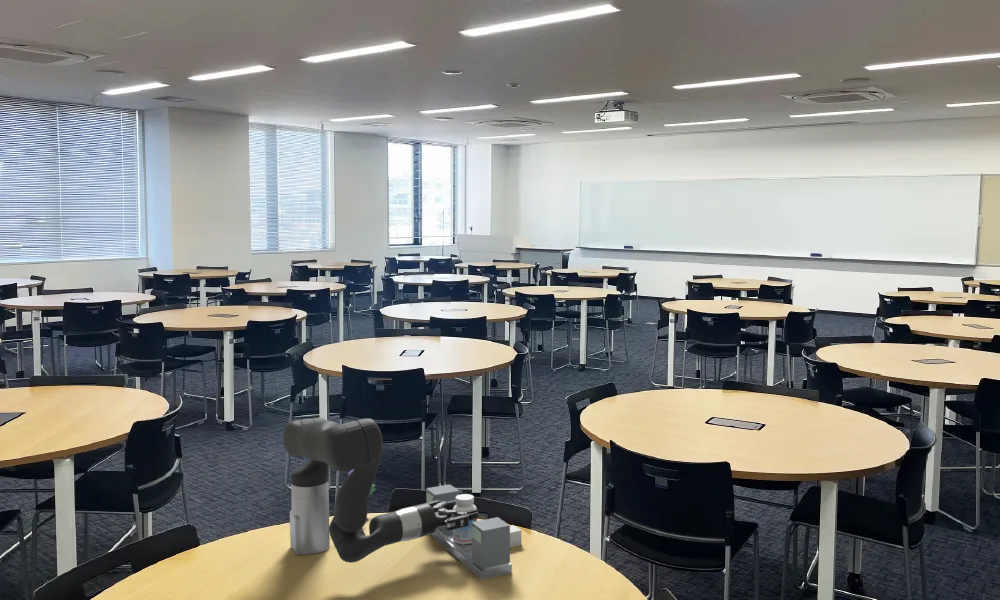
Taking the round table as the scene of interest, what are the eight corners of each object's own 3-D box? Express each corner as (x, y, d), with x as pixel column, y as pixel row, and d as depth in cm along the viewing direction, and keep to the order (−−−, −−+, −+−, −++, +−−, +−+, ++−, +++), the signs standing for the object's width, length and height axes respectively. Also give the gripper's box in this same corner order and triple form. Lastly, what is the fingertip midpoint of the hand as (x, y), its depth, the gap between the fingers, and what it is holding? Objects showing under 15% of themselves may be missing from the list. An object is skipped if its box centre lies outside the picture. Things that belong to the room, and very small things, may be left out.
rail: (481, 579, 170) (481, 569, 170) (425, 530, 200) (424, 521, 200) (511, 572, 174) (511, 562, 174) (451, 524, 204) (451, 516, 204)
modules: (482, 569, 170) (482, 531, 170) (425, 521, 200) (425, 488, 199) (509, 562, 174) (509, 525, 173) (450, 516, 204) (450, 484, 203)
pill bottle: (480, 543, 185) (480, 499, 184) (456, 546, 183) (456, 502, 182) (472, 534, 191) (472, 491, 190) (450, 537, 189) (449, 494, 188)
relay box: (501, 550, 187) (501, 534, 187) (493, 544, 191) (493, 529, 190) (521, 545, 190) (521, 530, 190) (512, 540, 194) (512, 525, 194)
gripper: (427, 516, 172) (484, 501, 181) (398, 499, 183) (453, 486, 193) (428, 547, 172) (484, 531, 182) (398, 528, 184) (453, 514, 193)
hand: (468, 508), depth 187 cm, fingers open, 8 cm apart
